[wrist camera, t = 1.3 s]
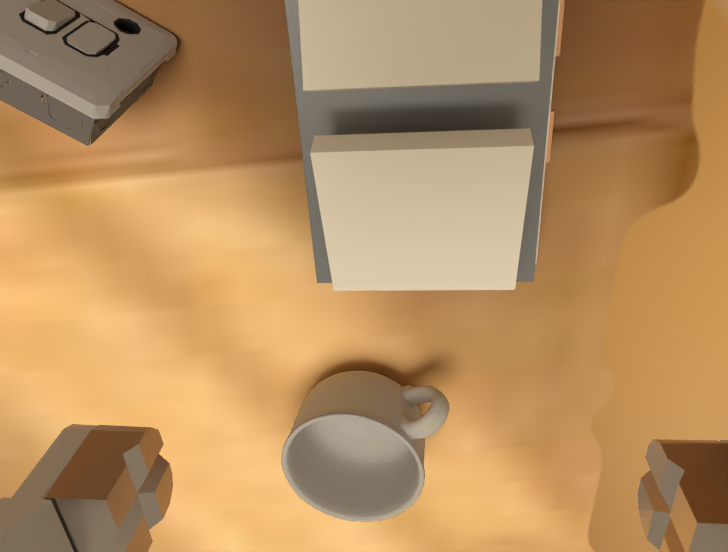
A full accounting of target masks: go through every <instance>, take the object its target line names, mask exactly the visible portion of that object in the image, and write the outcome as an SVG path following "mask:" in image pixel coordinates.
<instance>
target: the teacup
mask: <svg viewBox="0 0 728 552" xmlns="http://www.w3.org/2000/svg"><path fill="white" fill-rule="evenodd" d="M426 402H431V405H430V407H429V409H428V411H427V412H426V413H425V414H424V415H423V416H422V414H421V411H420V409H419V407H418V405H417V404H421V403H426ZM448 412H449V403H448V401H447V399H446V397H445V396H444V394H443V393H442V392H440V391H439V390H438V389H436V388H434V387H431V386H418V387H413V386H411V385H406V386H404V387H402V386H401V385H400V384H398V383H397V382H395V381H393V380H392V379H390V378H388V377H386V376H383V375H380V374H378V373H374V372H369V371H346V372H341V373H337V374H334V375H332V376H330V377H328V378H326V379H324V380H323V381H321V382H320V383H318V384H317V385H316V386H315V387H314V388H313V389H312V390H311V391H310V392H309V394H308V395H307V397H306V398H305V400H304V402H303V404H302V406H301V408H300V410H299V412H298V415H297V417H296V419H295V422H294V425H293V427H292V430H291V433H290V435H289V436H288V438H287V440H286V442H285V444H284V447H283V451H282V467H283V471H284V474H285V476H286V478H287V480H288V482H289V484H290V486H291V487H292V488H293V490H294V491H295V492H296V494H297V495H298V496H299V497H300V498H301V499H303V500H304V501H305V502H306V503H308V504H309V505H311V506H312V507H314V508H315V509H317V510H319V511H321V512H323V513H325V514H327V515H330V516H333V517H336V518H339V519H343V520H349V521H360V522H372V521H380V520H385V519H388V518H391V517H394V516H396V515H399V514H400V513H402V512H404V511H405V510H406V509H408V508H409V507H410V506H412V505H413V503H414V502H415V501H416V500H417V499H418V497H419V496H420V494H421V491H422V488H423V486H424V479H425V470H424V450H425V438H426V437H428V436H430V435H432V434H434V433H435V432H437V431H438V430H439V429H440V428H441V426H442V425H443V424H444V422H445V420H446V418H447V416H448Z"/></svg>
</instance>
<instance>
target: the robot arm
mask: <svg viewBox="0 0 728 552" xmlns="http://www.w3.org/2000/svg"><path fill="white" fill-rule="evenodd" d="M162 446H163V441H162V438H161V436H160V433H159V430H157V429H154V428H150V427H130V426H110V425H98V426H96V425H78V424H72V425H70V426H68V427H66V428H65V429H63V430H62V432H61V433H60V434H59V436H58V437H57V438H56V440H55V441H54V442H53V444H52V445H51V446H50V448H49V449H48V450H47V452H46V453H45V454H44V456H43V457H42V458H41V459H40V461H39V462H38V463H37V465H36V466H35V467H34V469H33V470H32V471H31V473H30V474H29V475H28V477H27V478H26V479H25V481H24V482H23V483H22V485H21V486H20V487H19V489H18V490H17V491H16V493H15V494H14V495H13V496H12V498H2V499H0V552H148V550H149V548H150V546H151V544H152V542H153V541H152V538H151V535H150V531H149V529H151V528H152V527H153V526H154V525H156V524H157V523H158V522H159V521H161V520H162V519H163V518H164V515H165V513H166V511H167V509H168V506H169V504H170V499H171V493H172V488H173V481H172V471H171V468H170V464H169V463H168V462H167V461H166V460H165V459H164V458H163V457H162V456H160V455H159V452H160V450H161V448H162ZM646 460H647V462H648V464H649V467H650V469H651V470H650V471H649V472H648V473H646V474H645V475H644V476H643V477H641V481H640V486H639V491H638V504H639V514H640V519H641V523H642V527H643V529H644V532H645V535H646V538H647V539H648V540H649V541H650V542H651V543H652V544H653V545H654V546H656V547H657V548H658V549H659V550H660V552H728V440H721V441H717V440H652V442H651V443H650V444H649V447H648V450H647V454H646Z"/></svg>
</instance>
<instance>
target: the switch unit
mask: <svg viewBox="0 0 728 552" xmlns="http://www.w3.org/2000/svg"><path fill="white" fill-rule="evenodd" d="M564 5H565V0H542V21H541V49H540V76H539V81H537V82H534V83H511V84H487V85H463V86H440V87H416V88H392V89H368V90H345V91H321V92H308V91H303V75H302V58H301V41H300V24H299V6H298V0H285V8H286V16H287V25H288V34H289V42H290V51H291V60H292V68H293V77H294V86H295V94H296V103H297V112H298V120H299V129H300V138H301V147H302V155H303V164H304V173H305V181H306V190H307V199H308V207H309V216H310V225H311V233H312V242H313V251H314V259H315V268H316V277H317V283H332V278H331V272H330V266H329V260H328V255H327V249H326V243H325V237H324V231H323V225H322V219H321V214H320V208H319V202H318V196H317V190H316V184H315V178H314V173H313V167H312V161H311V155H310V151H311V147H312V143H313V139H314V136H318V135H348V134H378V133H407V132H437V131H466V130H496V129H525V128H530V130H531V135H532V139H533V143H534V150H533V158H532V165H531V173H530V180H529V188H528V195H527V203H526V210H525V218H524V225H523V233H522V241H521V248H520V256H519V263H518V271H517V278H516V282H534V271H535V263H537V253H538V242H539V231H540V220H541V209H542V198H543V187H544V176H545V165H546V163H550V153H551V143H552V132H553V121H554V111H553V109H552V108H551V99H552V88H553V77H554V66H555V56H560V47H561V37H562V26H563V15H564Z"/></svg>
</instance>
